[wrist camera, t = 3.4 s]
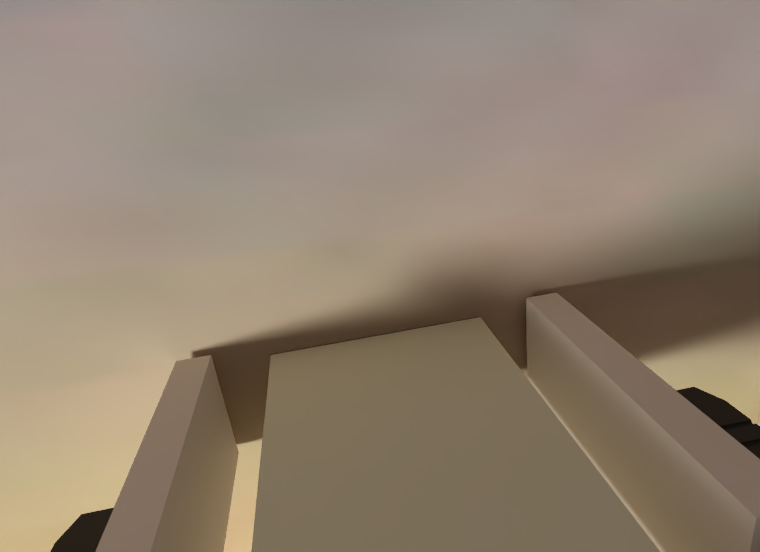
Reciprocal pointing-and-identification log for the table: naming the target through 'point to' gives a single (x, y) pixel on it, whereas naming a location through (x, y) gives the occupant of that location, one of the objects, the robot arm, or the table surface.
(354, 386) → the domino
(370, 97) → the table surface
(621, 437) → the robot arm
